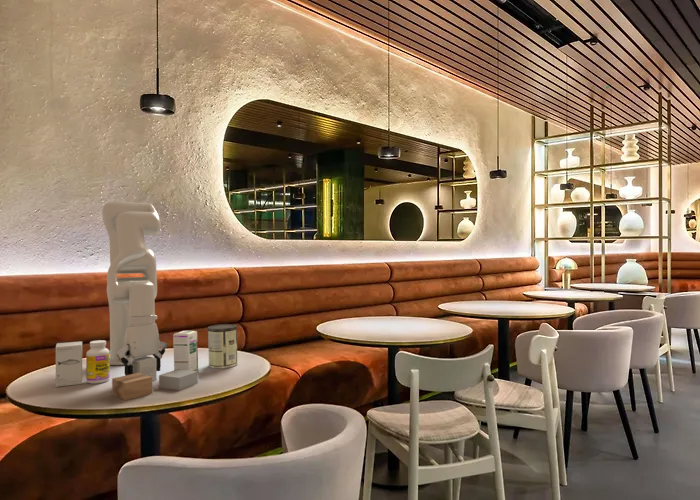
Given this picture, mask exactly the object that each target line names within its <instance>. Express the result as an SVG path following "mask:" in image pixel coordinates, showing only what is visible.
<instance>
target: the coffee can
mask: <svg viewBox="0 0 700 500" xmlns="http://www.w3.org/2000/svg"><path fill="white" fill-rule="evenodd" d="M237 331H238V325H236V324H231V323H230V324H229V323H223V324H221V323H220V324H213V325H210V326H208V327H207V335H208V336H207V337H208V338H207V339H208V341H207V343H208V345H207V346H208V347H207V348H208V367H209V368H210V369H211V368H212V369H229V368H233V367H236V366H237V365H238V337H237V336H238V333H237Z"/></svg>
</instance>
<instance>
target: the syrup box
mask: <svg viewBox="0 0 700 500" xmlns="http://www.w3.org/2000/svg"><path fill="white" fill-rule="evenodd" d="M172 336H173V337H172V338H173V371H174V370H177V369H181V370H189V371H198V372H199V356H198V355H199V354H198V353H199V352H198V351H199V350H198V348H199V347H198V331H197V330H182V331H179V332H175V333H174V334H173V335H172Z"/></svg>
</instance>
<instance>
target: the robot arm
mask: <svg viewBox="0 0 700 500" xmlns="http://www.w3.org/2000/svg"><path fill="white" fill-rule="evenodd" d="M101 213H102V216H101V217H102V221H103V224H104V227H105V230H106V232H107V235H108V238H109V239H108V240H109V264H110V265H109V267H108V270H107V274H106V282H107V283H106V294H107V295H106V296H107V300H108V309H109V345H110V346H109V364H110V366H124V376H126V375H131V374H133V365H131V363H132V362H133V360H134V359H135V358H139V357H144V356H148V357H150V356H152V357H153V358H156V372H160V371H161V367H162V366H161V365H162V364H161V363H162V362H161V359H162V358H163V355H164V354H165V353H166V349H167V347H168V344H167V343H166V342H164V341H161V340H160V336H159V335H160V333H159V328H158V325H157V323H156V320H158V315H156V311H155V310H156V309H155V306H156V305H155V299H156V298H157V295H158V275H157V271H158V270H157V259H156V255H155V252H154V251H153V250H151V249H150V248H147V247H146V241H145V236H157V235H159V233H160V232H161V228H162V224H161V223H162V222H161V217H160V216H159V213H158V212H157V210H156V208H155V207H154V205H153V204H152V203H149V202H136V201H110V202H106V203H105V204H104V205H103V206H102V211H101ZM117 274H118V275H130V274H132V275H135V274H142V276H138V277H137V276H136V277H135V276H134V277H133V276H132V277H131V276H130V277H129V276H128V277H117Z"/></svg>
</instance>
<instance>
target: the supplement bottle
mask: <svg viewBox="0 0 700 500" xmlns="http://www.w3.org/2000/svg"><path fill="white" fill-rule="evenodd" d="M106 345H107V340H104V339H103V340H101V339H98V340H91V341H90V342H89V347H90V349H89V350H87V351H86V356H85V357H86V359H85V360H86V365H85V367H86V371H85V372H86V382H87V383H88V384H102V383H103V384H104V383H106V382H108V381H109V380H110V377H111V376H110V374H111V373H110V367H111V365H110V364H109V358H110V354H109V351H110V349H109V348H107V347H106Z"/></svg>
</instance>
